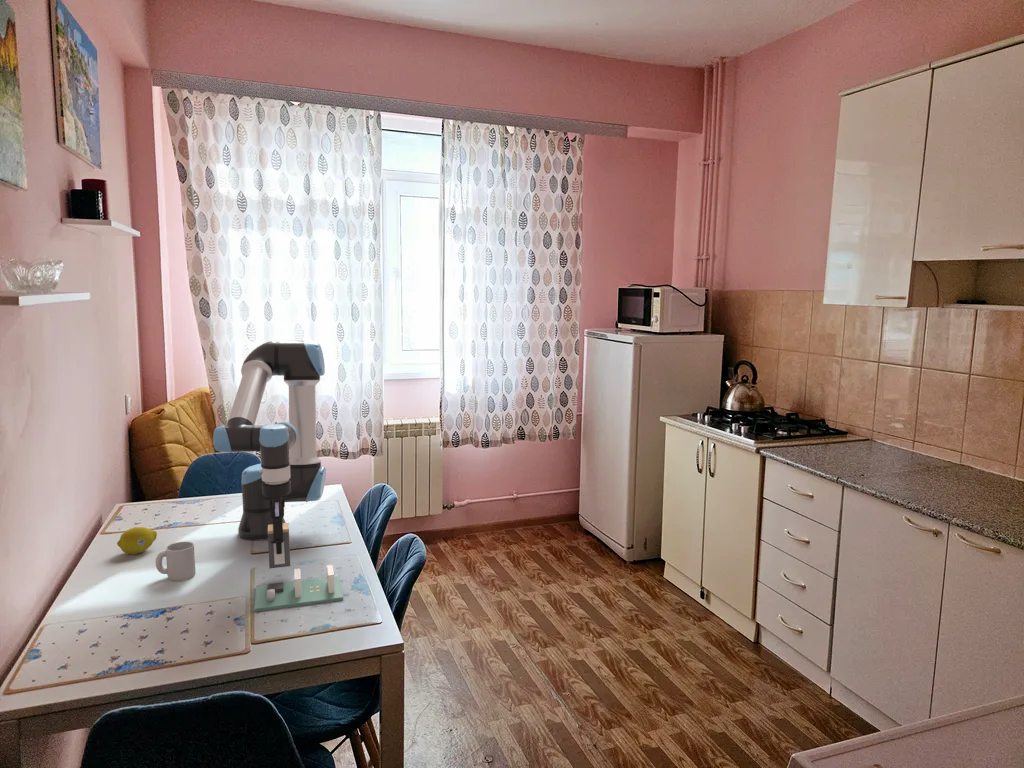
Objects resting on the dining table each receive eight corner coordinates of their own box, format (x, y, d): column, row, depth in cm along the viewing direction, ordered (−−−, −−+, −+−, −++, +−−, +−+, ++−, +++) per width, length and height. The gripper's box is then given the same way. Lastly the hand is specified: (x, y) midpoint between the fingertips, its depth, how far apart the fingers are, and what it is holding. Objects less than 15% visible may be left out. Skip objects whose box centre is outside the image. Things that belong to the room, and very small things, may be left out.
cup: (194, 579, 186) (192, 549, 185) (154, 584, 183) (152, 553, 182) (197, 569, 193) (195, 540, 192) (158, 574, 190) (156, 544, 189)
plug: (269, 561, 189) (268, 524, 187) (290, 558, 191) (288, 522, 189) (269, 568, 184) (267, 531, 183) (290, 566, 186) (288, 529, 184)
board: (256, 588, 181) (255, 568, 180) (339, 578, 188) (338, 558, 187) (254, 611, 168) (253, 590, 167) (343, 600, 175) (342, 579, 174)
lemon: (118, 560, 199) (116, 534, 198) (117, 551, 206) (115, 527, 205) (158, 553, 205) (157, 528, 204) (157, 545, 211) (155, 521, 210)
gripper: (262, 472, 191) (266, 548, 195) (260, 491, 174) (264, 574, 178) (290, 470, 193) (293, 545, 197) (290, 489, 176) (294, 571, 180)
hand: (279, 559), depth 187 cm, fingers closed on plug, 5 cm apart
